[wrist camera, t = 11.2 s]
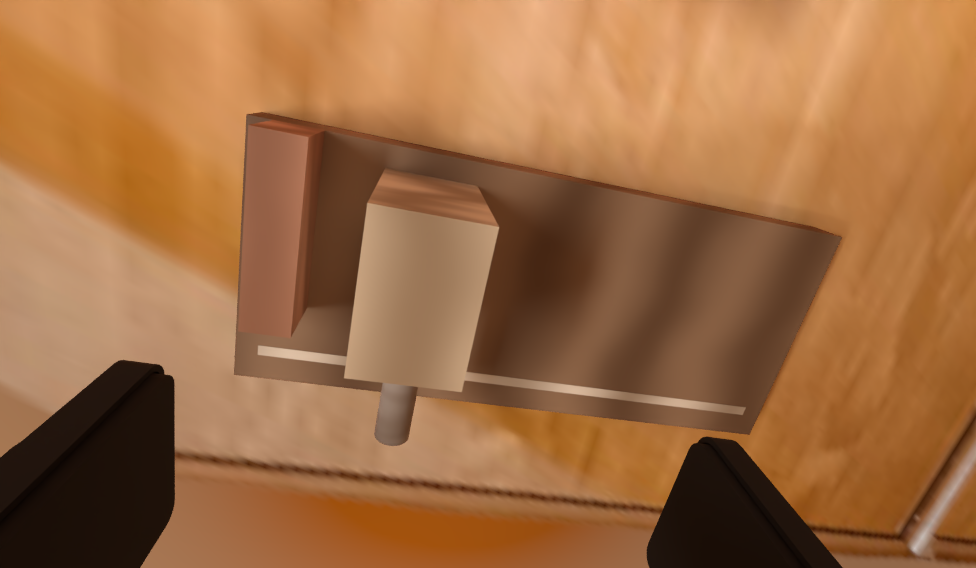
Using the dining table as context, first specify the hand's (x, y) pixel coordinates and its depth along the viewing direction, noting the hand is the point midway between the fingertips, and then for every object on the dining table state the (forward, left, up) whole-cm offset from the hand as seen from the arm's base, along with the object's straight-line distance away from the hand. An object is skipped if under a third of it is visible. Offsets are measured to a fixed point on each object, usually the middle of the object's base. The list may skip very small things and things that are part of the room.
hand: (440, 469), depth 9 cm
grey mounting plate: (-6, +2, -17) cm, 18 cm away
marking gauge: (0, +2, -15) cm, 15 cm away
